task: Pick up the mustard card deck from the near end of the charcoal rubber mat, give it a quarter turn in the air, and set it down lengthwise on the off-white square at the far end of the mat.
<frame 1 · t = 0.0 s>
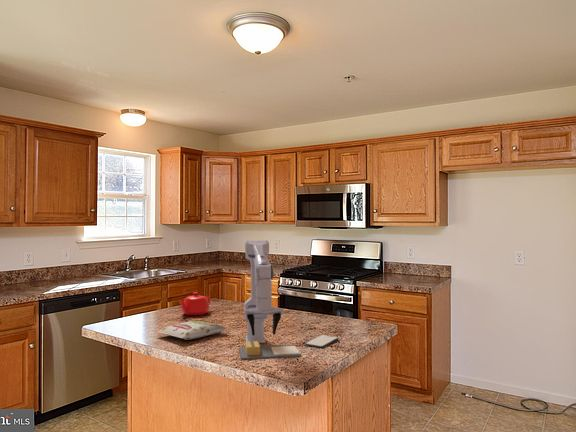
hand: (263, 334, 155), 10 cm above the countertop, tool pointing down, fingers open, 7 cm apart
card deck: (252, 351, 165), point 1 cm above the countertop, touching mat
phone case: (322, 344, 181), on the countertop
teapot: (194, 314, 236), on the countertop
mat: (268, 352, 166), on the countertop
frozen beans: (193, 336, 191), on the countertop
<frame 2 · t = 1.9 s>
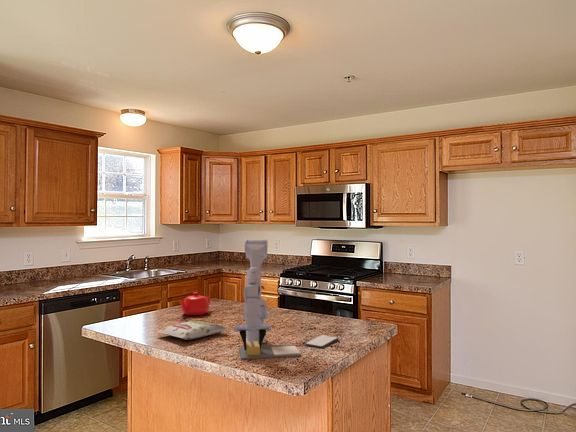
hand: (252, 349, 165), 2 cm above the countertop, tool pointing down, fingers closed on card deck, 5 cm apart
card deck: (252, 351, 165), point 1 cm above the countertop, touching gripper, mat
everything else where it was.
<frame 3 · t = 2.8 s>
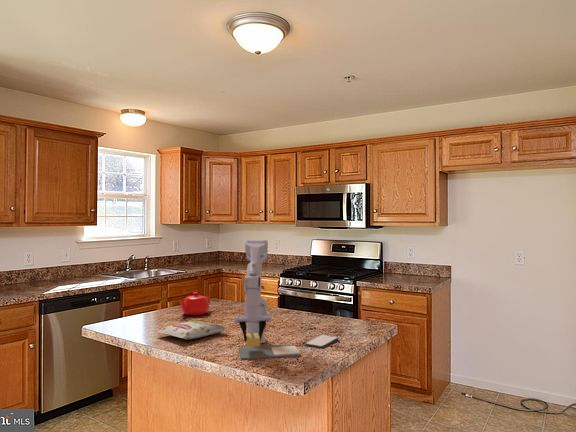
hand: (252, 340, 165), 5 cm above the countertop, tool pointing down, fingers closed on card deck, 5 cm apart
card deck: (252, 343, 165), point 4 cm above the countertop, touching gripper
everything else where it was.
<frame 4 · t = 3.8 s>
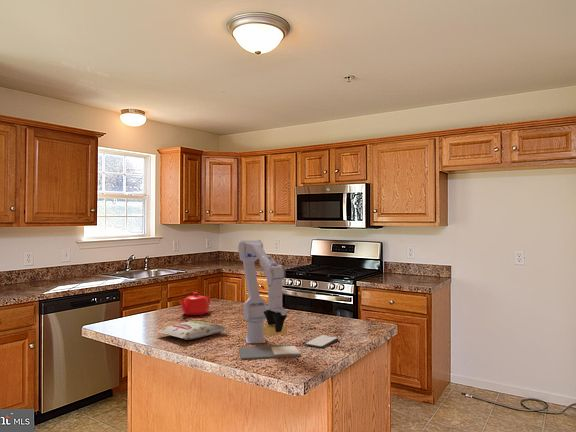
hand: (275, 330, 167), 9 cm above the countertop, tool pointing down, fingers closed on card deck, 5 cm apart
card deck: (274, 333, 167), point 7 cm above the countertop, touching gripper
everything else where it was.
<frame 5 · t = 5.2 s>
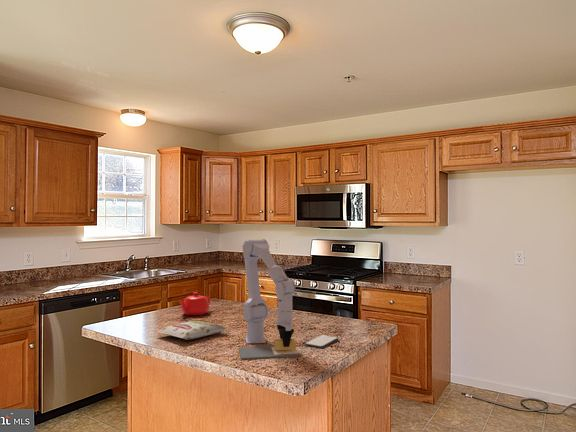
hand: (285, 344, 168), 3 cm above the countertop, tool pointing down, fingers closed on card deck, 5 cm apart
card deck: (284, 347, 168), point 2 cm above the countertop, touching gripper
everything else where it was.
when the fingers open (3 cm above the countertop, at t = 6.1 s): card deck stays where it is, resting on mat.
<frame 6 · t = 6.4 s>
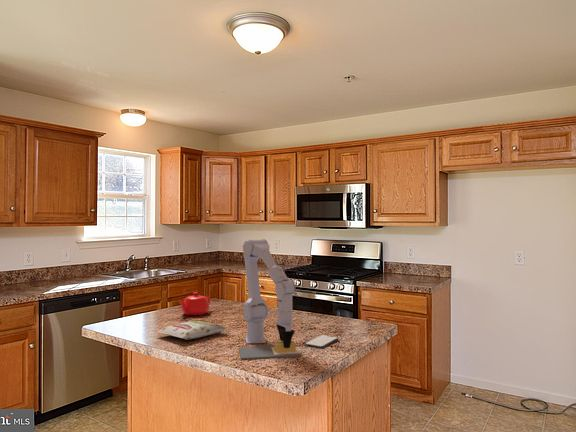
hand: (285, 345, 168), 3 cm above the countertop, tool pointing down, fingers open, 7 cm apart
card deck: (284, 350, 168), point 1 cm above the countertop, touching mat
everything else where it was.
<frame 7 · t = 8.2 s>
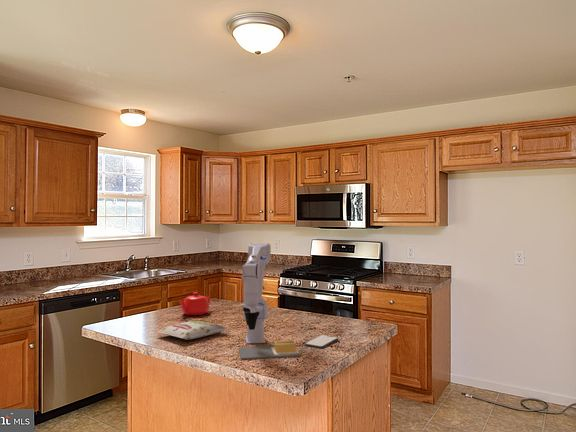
hand: (250, 327, 170), 9 cm above the countertop, tool pointing down, fingers open, 7 cm apart
nothing on the countertop moved.
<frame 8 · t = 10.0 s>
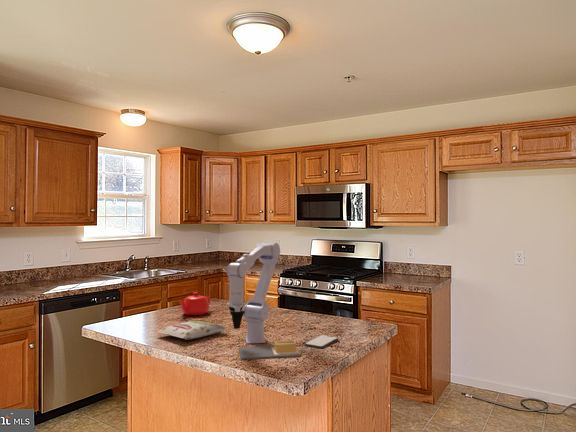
hand: (236, 326, 170), 9 cm above the countertop, tool pointing down, fingers open, 7 cm apart
nothing on the countertop moved.
at the end: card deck 0.1 cm from the target spot on the mat, point 0.6 cm above the mat's base; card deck tilted 0°; the gripper is holding nothing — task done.
